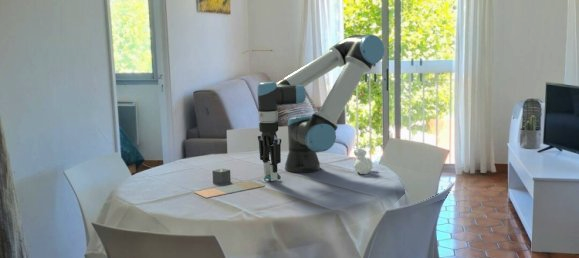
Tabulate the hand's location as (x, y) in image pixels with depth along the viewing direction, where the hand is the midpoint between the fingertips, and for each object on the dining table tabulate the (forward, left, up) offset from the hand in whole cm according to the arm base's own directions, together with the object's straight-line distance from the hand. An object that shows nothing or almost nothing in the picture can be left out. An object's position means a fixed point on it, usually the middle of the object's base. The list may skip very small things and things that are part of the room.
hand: (271, 179), depth 227 cm
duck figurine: (-38, +13, -1) cm, 40 cm away
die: (+16, -12, -1) cm, 20 cm away
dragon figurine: (0, 0, -1) cm, 1 cm away
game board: (+19, 0, -1) cm, 19 cm away
